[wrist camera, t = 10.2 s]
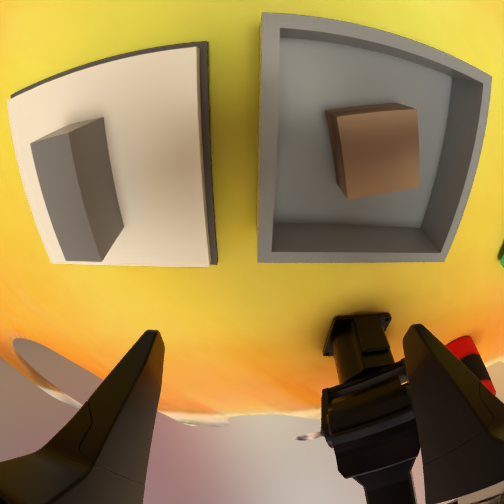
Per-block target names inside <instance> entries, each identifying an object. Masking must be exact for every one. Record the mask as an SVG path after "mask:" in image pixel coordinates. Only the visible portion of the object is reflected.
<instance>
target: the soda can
mask: <svg viewBox="0 0 504 504" xmlns="http://www.w3.org/2000/svg"><path fill="white" fill-rule="evenodd" d="M446 347H447V348H448V349H449V350H450V351H451V352H452V353H453V354H454V355H455V356H456V357H457V358H458V359H459V360H460V361H461V362H462V363H463V364H464V365H465V366H466V367H467V368H468V369H469V370H470V371H471V372H472V373H473V374H474V375H475V376H476V377H477V378H478V379H479V381H481V382H482V383H483V384H484V385H485V386H486V387H487V388H488V389H489V390H490V391H491V392H492V393H493V394H494V395H496V391H495V389H494V386H493V384H492V381H491V379H490V377H489V374H488V372H487V370H486V367H485V365H484V363H483V361H482V359H481V357H480V354H479V352H478V350H477V348H476V346H475V344H474V342H473V340H472V339H471V338H469V337H462V338H459V339H457V340H455V341H453V342H451V343H450V344H448V345H447V346H446Z"/></svg>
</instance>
